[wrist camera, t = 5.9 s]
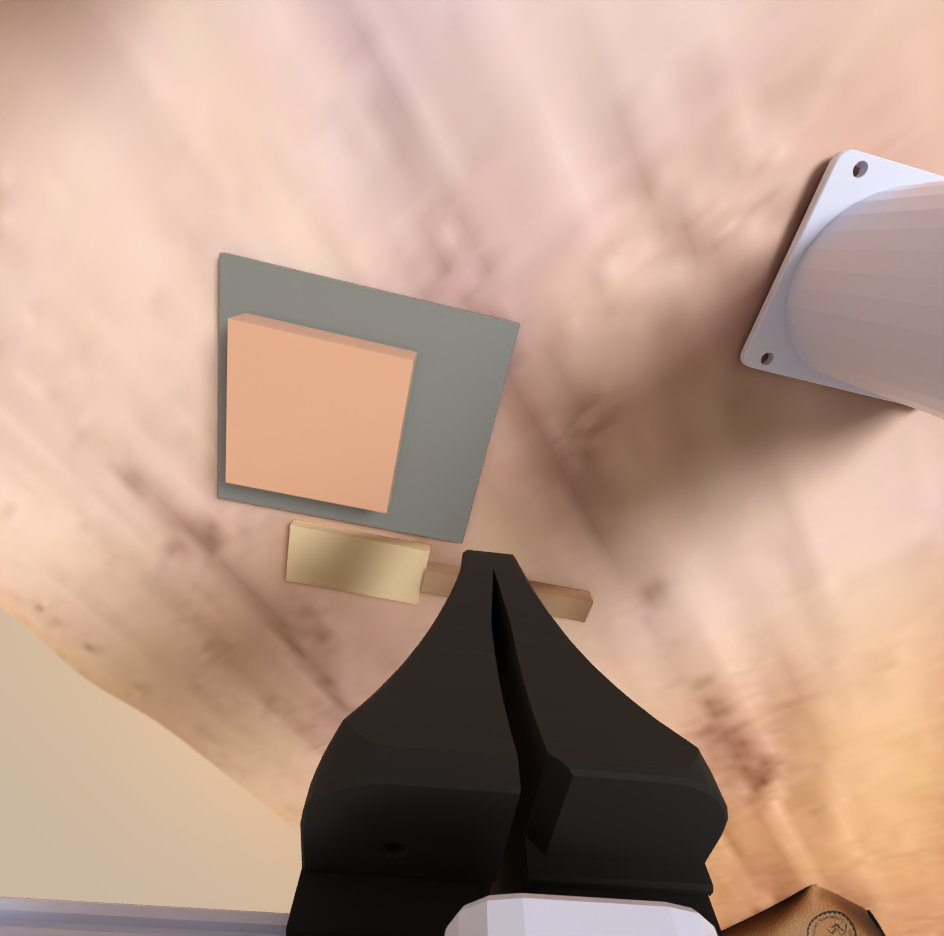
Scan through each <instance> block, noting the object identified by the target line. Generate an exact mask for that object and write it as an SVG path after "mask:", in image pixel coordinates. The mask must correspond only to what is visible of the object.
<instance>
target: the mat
mask: <svg viewBox="0 0 944 936" xmlns="http://www.w3.org/2000/svg"><path fill="white" fill-rule="evenodd" d="M244 313H249V314H253V315H258V316H262V317H266V318H271V319H275V320H280V321H284V322H288V323H293V324H297V325H302V326H306V327H310V328H315V329H319V330H324V331H328V332H332V333H337V334H341V335H346V336H350V337H354V338H359V339H363V340H367V341H372V342H376V343H381V344H385V345H389V346H394V347H398V348H403V349H407V350H411V351H416V352H417V358H416V363H415V369H414V374H413V380H412V386H411V391H410V397H409V402H408V408H407V413H406V419H405V424H404V430H403V435H402V441H401V446H400V452H399V458H398V463H397V469H396V474H395V480H394V485H393V491H392V496H391V500H390V503H389V506H388V509H387V513H383V512H377V511H372V510H367V509H362V508H357V507H351V506H346V505H341V504H336V503H330V502H325V501H320V500H315V499H310V498H304V497H299V496H294V495H289V494H284V493H278V492H273V491H268V490H263V489H257V488H252V487H247V486H242V485H237V484H231V483H226V414H227V344H228V318H231V317H234V316H237V315H241V314H244ZM519 326H520V324H519V323H517V322H512V321H508V320H504V319H500V318H496V317H491V316H487V315H483V314H479V313H475V312H471V311H466V310H462V309H458V308H454V307H450V306H445V305H441V304H437V303H433V302H429V301H425V300H420V299H416V298H412V297H408V296H404V295H399V294H395V293H391V292H387V291H383V290H379V289H374V288H370V287H366V286H362V285H358V284H353V283H349V282H345V281H341V280H337V279H333V278H328V277H324V276H320V275H316V274H312V273H307V272H303V271H299V270H295V269H291V268H287V267H282V266H278V265H274V264H270V263H266V262H261V261H257V260H253V259H249V258H245V257H241V256H236V255H232V254H228V253H220V260H219V407H218V498H223V499H228V500H233V501H239V502H244V503H249V504H255V505H260V506H265V507H271V508H276V509H281V510H286V511H292V512H297V513H302V514H308V515H313V516H318V517H324V518H329V519H334V520H340V521H345V522H350V523H355V524H361V525H366V526H371V527H377V528H382V529H387V530H393V531H398V532H403V533H409V534H414V535H419V536H425V537H430V538H435V539H440V540H446V541H451V542H456V543H462V542H463V538H464V535H465V531H466V527H467V523H468V519H469V516H470V512H471V508H472V504H473V501H474V497H475V493H476V489H477V485H478V482H479V478H480V474H481V470H482V466H483V463H484V459H485V455H486V451H487V447H488V444H489V440H490V436H491V432H492V429H493V425H494V421H495V417H496V413H497V410H498V406H499V402H500V398H501V394H502V391H503V387H504V383H505V379H506V375H507V372H508V368H509V364H510V360H511V357H512V353H513V349H514V345H515V341H516V338H517V334H518V330H519Z"/></svg>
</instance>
